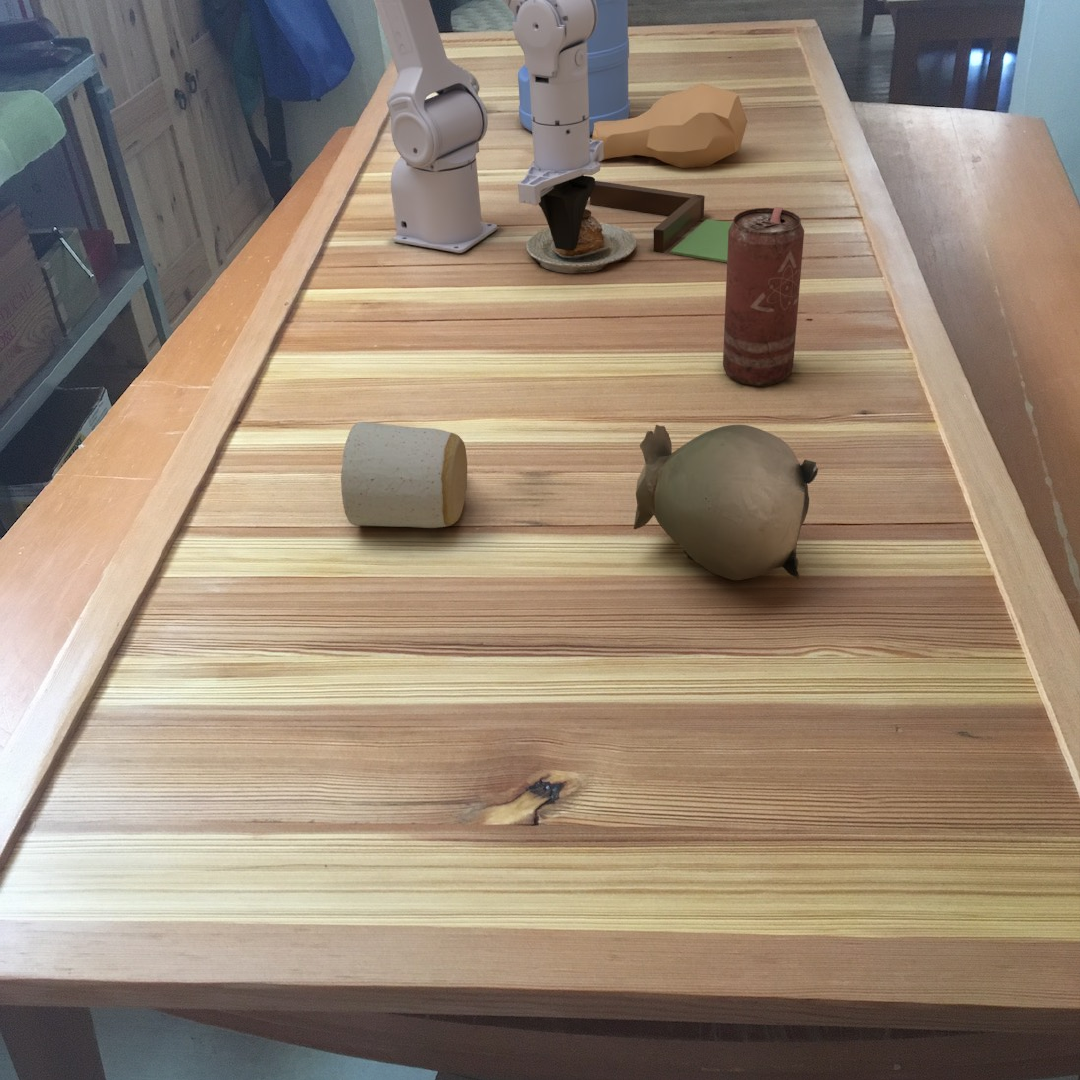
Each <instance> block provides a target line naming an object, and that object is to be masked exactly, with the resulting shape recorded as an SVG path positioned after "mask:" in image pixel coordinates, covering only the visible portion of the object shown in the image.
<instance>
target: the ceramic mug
mask: <svg viewBox="0 0 1080 1080" xmlns="http://www.w3.org/2000/svg"><path fill="white" fill-rule="evenodd" d="M467 457H468V456H467V449H466V444H465V441H464V440H463V439H462V438H461V436H460V435H459V434H456V433H454V432H450V431H446V430H443V429H438V428H431V427H415V426H414V427H413V426H407V425H406V426H405V425H396V424H387V423H386V424H385V423H377V422H369V421H359V422H356V423H354V425H352V427H351V429H350V431H349V432H348V435H347V438H346V441H345V443H344V449H343V452H342V459H341V471H340V485H341V486H340V488H341V497H342V498H341V499H342V505H343V506H342V507H343V511H344V514H345V517H346V519H347V521H348V522H349V523H350V524H351V525H354V526H370V527H371V526H372V527H398V528H399V527H401V528H405V527H406V528H423V529H437V528H445V527H450V526H452V525H454V524H455V523H456V522H458V521H459V519H461V516H462V513H463V509H464V506H465V500H466V494H467V486H468V485H467V483H468V458H467Z"/></svg>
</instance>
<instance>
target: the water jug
mask: <svg viewBox="0 0 1080 1080" xmlns="http://www.w3.org/2000/svg"><path fill="white" fill-rule="evenodd" d="M595 1H596V5H597V9H598V22H597V26H596V29H595V31H594V33H593V35H592V36H591V37H590V38H589V39H588V40H586V41H584V42H587V65H588V100H589V136H590V137H592V135H593V131H594V123H596V122H599V121H617V120H623V119H629V118H630V110H631V109H630V106H631V105H630V104H631V103H630V99H629V58H630V38H629V8H628V7H629V4H628V3H629V0H595ZM513 18H514V20H515V21H516V20H517V18H516V17H515V15H514V14H513ZM517 72H518V73H517V81H518V98H519V101H518V102H519V105H518V117H519V121H520V124H521V126H523V127H524V129H526V130H528V131H529V132H531V133H532V115H531V98H530V81H529V73H528V69H527V68H525V64H523V65H522V66H521V67H520V68H519V70H518V71H517Z"/></svg>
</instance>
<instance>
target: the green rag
mask: <svg viewBox="0 0 1080 1080" xmlns="http://www.w3.org/2000/svg"><path fill="white" fill-rule="evenodd" d="M732 223H733V222H730V221H724V220H723V221H722V220H717V219H709V218H706V219H705V220H704V221H703V222H701V223H699V225H698V226H697V227H696V228H694V229H693V230H692V231H691V232H690V233H689V234H688V235H687V236H685V238H683V239H682V240H681V241H680V242H679V243H677V245H676V246H674V247H673V248H672V249H671V250H670V252H669V253H670V254H671V255H677V256H683V257H687V258H695V259H702V260H708V261H714V262H720V263H725V264H727V254H728V230H729V228H730V226H731V224H732Z"/></svg>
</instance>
